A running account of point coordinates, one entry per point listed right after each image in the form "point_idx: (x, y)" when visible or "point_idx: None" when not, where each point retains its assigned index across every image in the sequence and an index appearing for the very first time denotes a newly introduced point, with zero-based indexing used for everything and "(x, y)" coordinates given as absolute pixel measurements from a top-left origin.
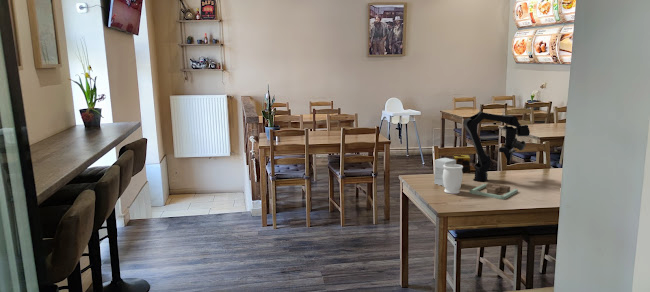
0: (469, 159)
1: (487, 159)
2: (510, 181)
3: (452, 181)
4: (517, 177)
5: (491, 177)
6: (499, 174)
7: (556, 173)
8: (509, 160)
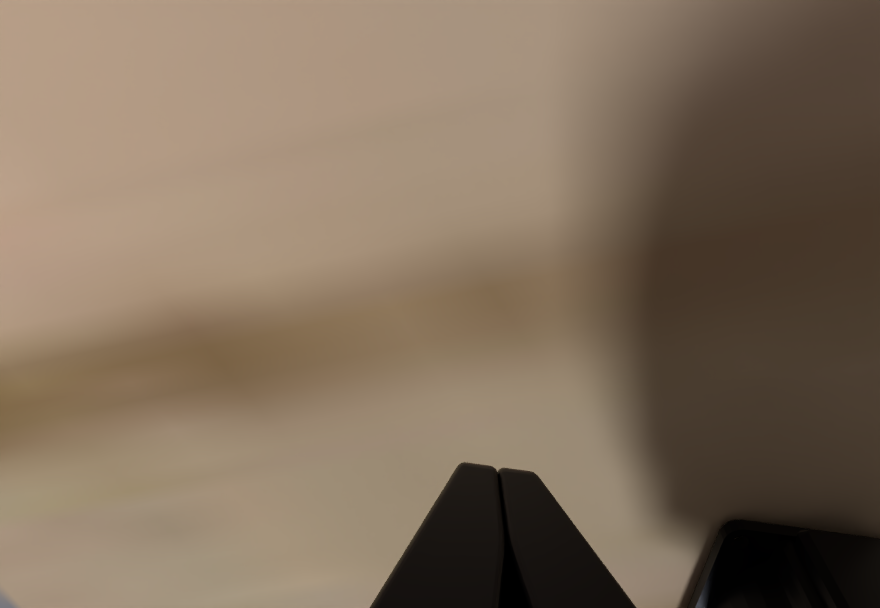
0: None
1: None
2: (624, 92)
3: None
4: (80, 30)
5: None
6: (93, 441)
7: None
8: (581, 550)
